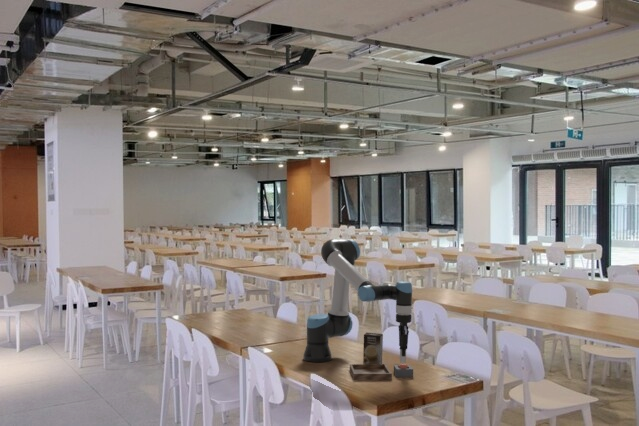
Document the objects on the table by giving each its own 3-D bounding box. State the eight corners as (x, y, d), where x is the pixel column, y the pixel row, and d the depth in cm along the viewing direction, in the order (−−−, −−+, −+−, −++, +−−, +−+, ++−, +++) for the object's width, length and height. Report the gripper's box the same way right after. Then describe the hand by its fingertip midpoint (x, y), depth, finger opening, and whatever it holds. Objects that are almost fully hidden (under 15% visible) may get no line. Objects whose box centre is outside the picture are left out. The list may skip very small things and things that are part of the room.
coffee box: (362, 365, 303) (362, 334, 303) (365, 362, 309) (366, 332, 309) (380, 367, 300) (380, 335, 300) (382, 364, 306) (383, 333, 306)
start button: (400, 372, 283) (400, 366, 283) (398, 370, 287) (398, 363, 287) (408, 372, 284) (408, 365, 284) (406, 370, 288) (406, 363, 288)
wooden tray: (353, 380, 276) (353, 373, 276) (349, 370, 294) (349, 364, 294) (391, 379, 277) (391, 373, 277) (385, 370, 295) (385, 364, 295)
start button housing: (396, 377, 281) (396, 369, 281) (393, 373, 289) (393, 365, 289) (413, 377, 282) (413, 369, 282) (409, 373, 290) (409, 364, 290)
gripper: (414, 316, 279) (413, 365, 279) (408, 311, 292) (407, 359, 292) (398, 316, 279) (397, 365, 279) (393, 311, 292) (392, 358, 292)
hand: (402, 362), depth 286 cm, fingers closed
